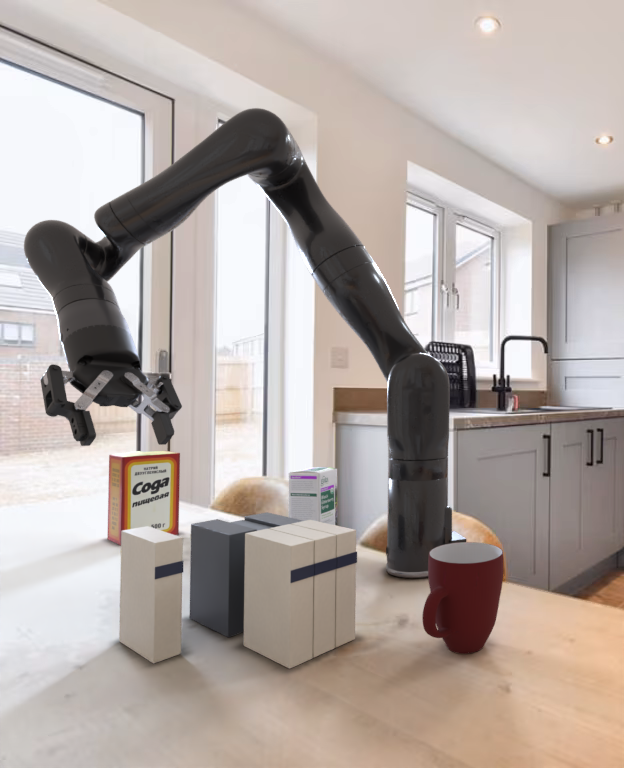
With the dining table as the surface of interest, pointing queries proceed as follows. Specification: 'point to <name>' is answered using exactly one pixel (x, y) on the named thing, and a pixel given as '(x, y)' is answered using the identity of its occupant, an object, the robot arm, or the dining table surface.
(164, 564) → the white book
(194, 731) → the dining table surface
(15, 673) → the dining table surface
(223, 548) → the grey books
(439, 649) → the dining table surface
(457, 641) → the mug
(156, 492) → the baking soda box
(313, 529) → the white books
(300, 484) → the syrup box
